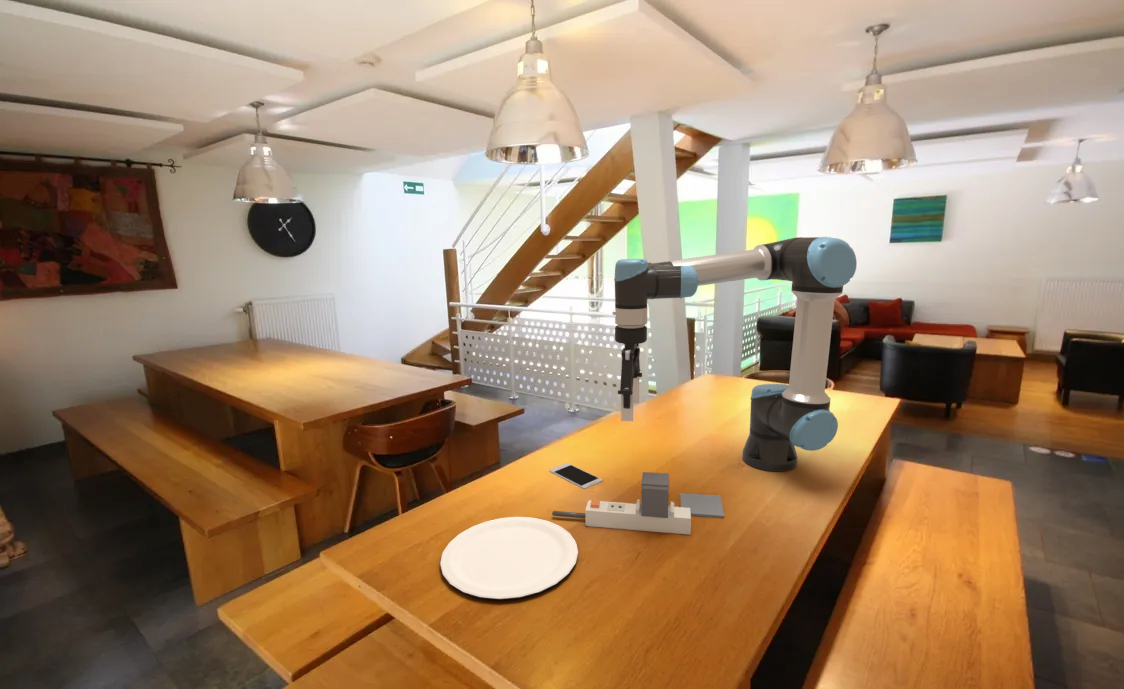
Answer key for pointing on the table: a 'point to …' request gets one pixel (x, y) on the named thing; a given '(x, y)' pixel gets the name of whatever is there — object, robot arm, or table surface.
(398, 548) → the table surface
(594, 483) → the smartphone
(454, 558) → the plate
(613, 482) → the table surface
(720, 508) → the mat
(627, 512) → the power strip
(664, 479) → the grey block
